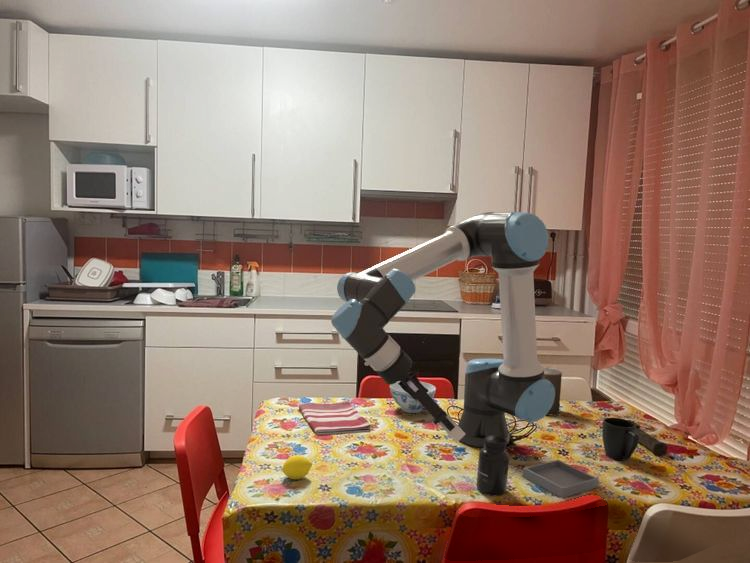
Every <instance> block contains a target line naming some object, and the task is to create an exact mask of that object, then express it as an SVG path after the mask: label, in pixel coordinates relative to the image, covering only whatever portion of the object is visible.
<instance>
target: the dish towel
mask: <svg viewBox="0 0 750 563" xmlns="http://www.w3.org/2000/svg"><path fill="white" fill-rule="evenodd" d="M298 409H299V411H300V412H301V414H302V416H303V418H304V419H305V420H306V422H307V423H308V424H309V427H310V428H311V429H312V431H313V432H314V433H315V435H317V436H318V435H319V436H322V435H334V434H335V435H338V434H351V433H353V434H354V433H361V432H362V433H365V432H370V429H371V424H370V423H369V421H368V420H367V419H365V418H364V417H363V416H362V415H361V413H359V412H358V410H356V409H355V408H354V407H353V406H352V404H351V402H350V400H349V401H343V402H342V401H341V402H335V403H318V402H317V403H316V402H306V403H302V404H300V405H299V406H298Z"/></svg>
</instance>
